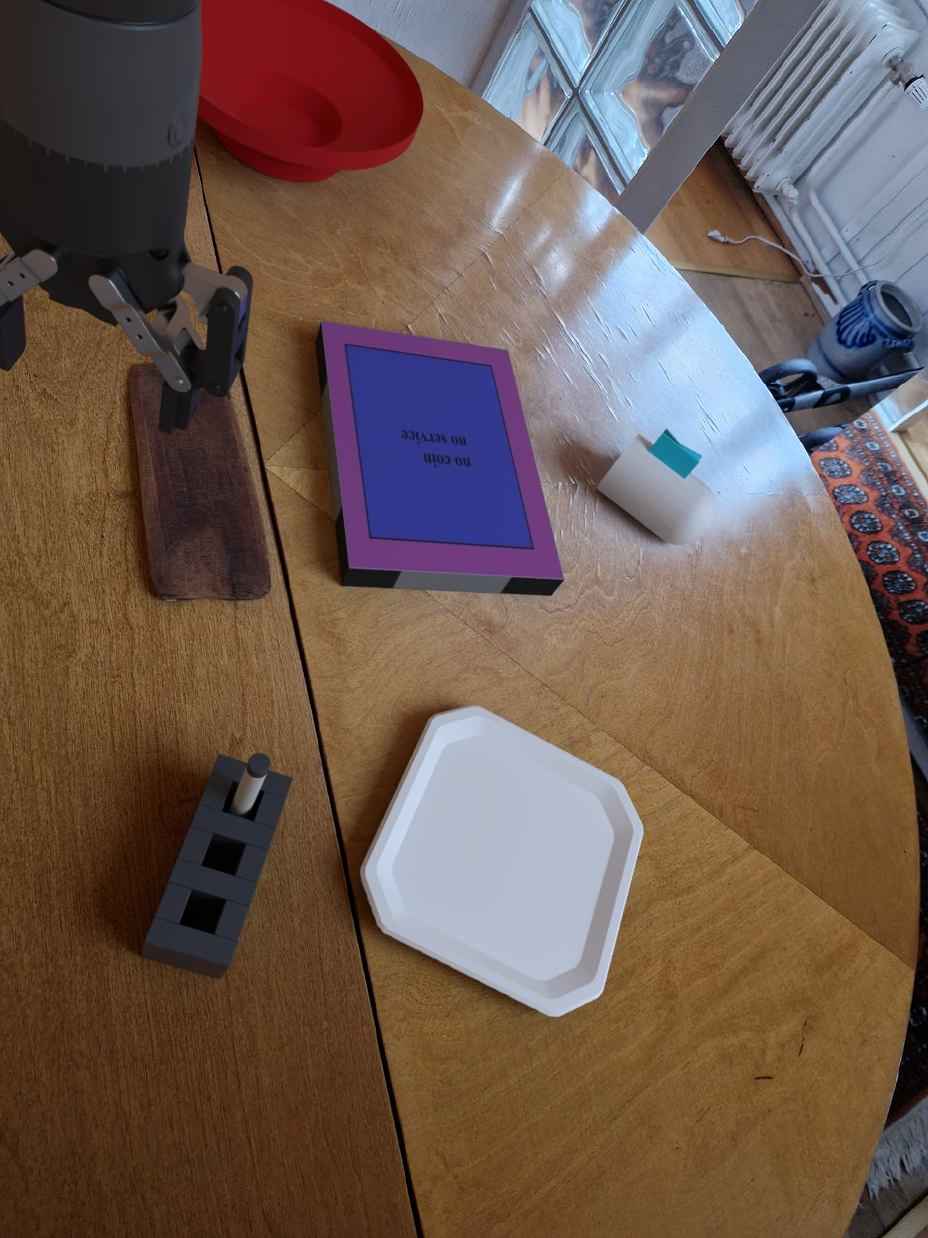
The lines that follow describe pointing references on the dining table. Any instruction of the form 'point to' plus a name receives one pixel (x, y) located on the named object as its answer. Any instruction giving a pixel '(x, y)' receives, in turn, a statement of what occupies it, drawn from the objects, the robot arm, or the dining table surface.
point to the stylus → (250, 785)
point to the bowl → (304, 88)
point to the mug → (661, 488)
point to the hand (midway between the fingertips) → (91, 391)
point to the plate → (505, 860)
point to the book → (431, 466)
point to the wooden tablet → (198, 499)
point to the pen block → (216, 873)
